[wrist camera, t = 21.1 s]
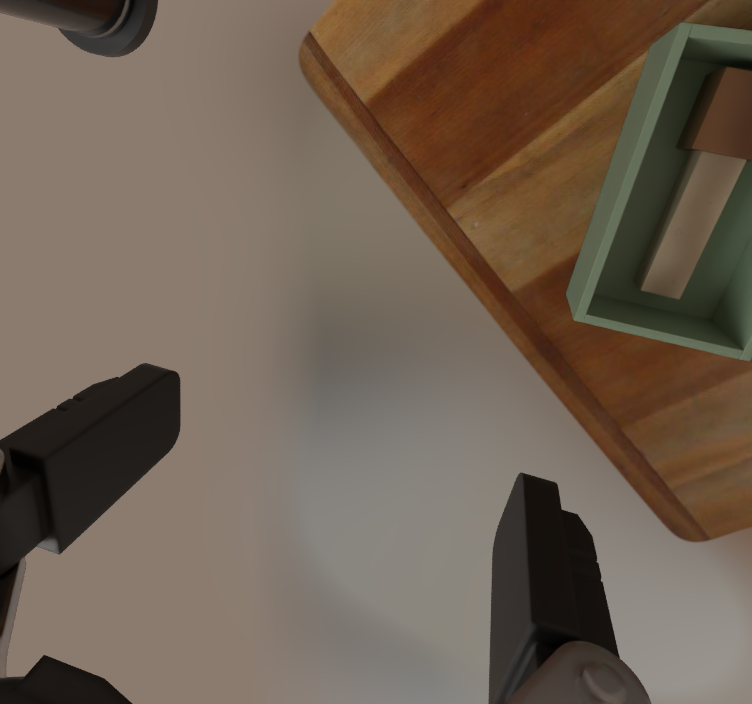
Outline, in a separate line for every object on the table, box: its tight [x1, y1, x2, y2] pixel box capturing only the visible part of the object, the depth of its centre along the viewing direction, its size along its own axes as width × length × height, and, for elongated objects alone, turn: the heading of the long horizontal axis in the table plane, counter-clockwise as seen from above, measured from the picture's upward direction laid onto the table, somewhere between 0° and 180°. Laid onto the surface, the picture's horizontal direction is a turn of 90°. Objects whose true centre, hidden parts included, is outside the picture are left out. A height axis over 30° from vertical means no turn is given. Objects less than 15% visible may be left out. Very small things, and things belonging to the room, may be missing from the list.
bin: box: [566, 22, 752, 361], centre depth 35 cm, size 12×19×8 cm, turn 171°
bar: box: [633, 67, 752, 300], centre depth 36 cm, size 5×16×4 cm, turn 169°
